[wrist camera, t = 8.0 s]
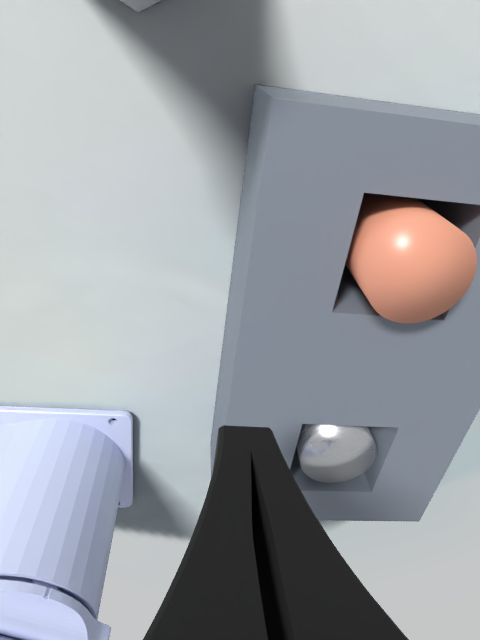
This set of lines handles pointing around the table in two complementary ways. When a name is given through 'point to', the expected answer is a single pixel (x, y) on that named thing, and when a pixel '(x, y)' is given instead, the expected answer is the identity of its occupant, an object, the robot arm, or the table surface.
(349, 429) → the steel plug
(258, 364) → the plug panel
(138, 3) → the flask
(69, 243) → the table surface
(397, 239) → the terracotta plug
